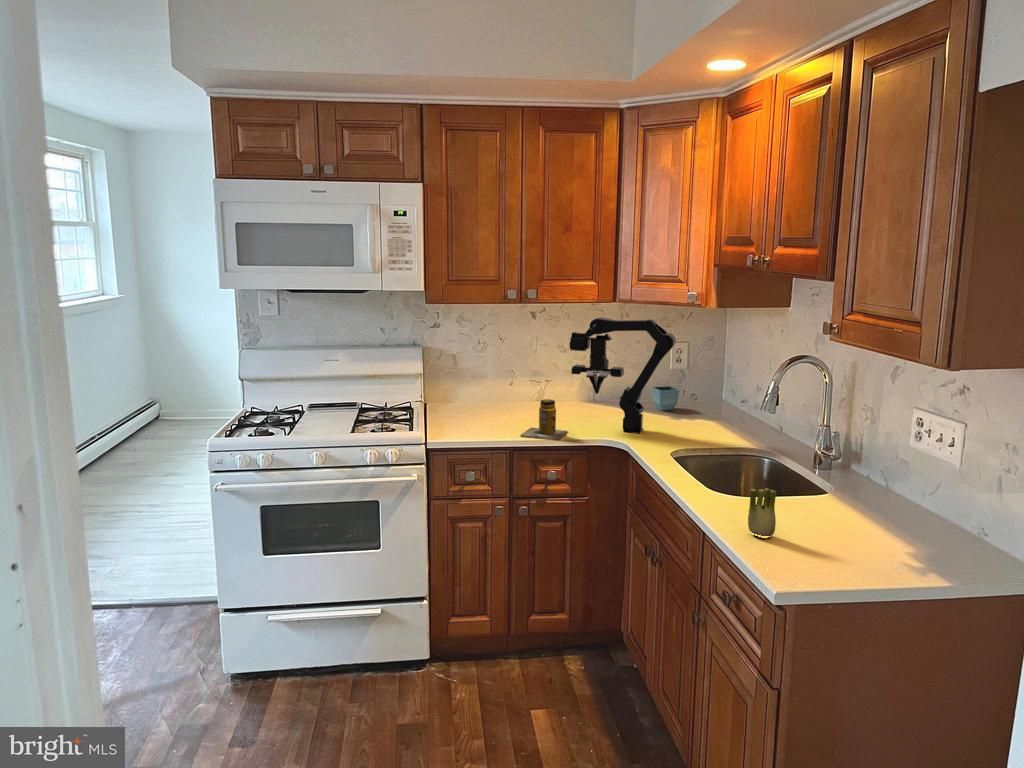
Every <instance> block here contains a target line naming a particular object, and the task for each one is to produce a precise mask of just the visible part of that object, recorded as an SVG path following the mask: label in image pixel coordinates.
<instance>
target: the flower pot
mask: <svg viewBox="0 0 1024 768" xmlns="http://www.w3.org/2000/svg"><path fill="white" fill-rule="evenodd" d="M651 393H652V400H653V403H654V405H655V407H656V409H658V410H660V411H662V410H663V411H673V410H674V409H675V407H677V404H678V401H679V396H680V389H678V388H676V387H674V386H672V385H671V386H669V385H665V386H652V387H651Z"/></svg>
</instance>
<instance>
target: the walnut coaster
mask: <svg viewBox="0 0 1024 768" xmlns="http://www.w3.org/2000/svg"><path fill="white" fill-rule="evenodd" d="M531 431H539V427H530V428H528V429H527V430H526V431H524V432H522V433H521V434H519V435H520V436H519V437H520V438H529V439H530V438H531V439H532V438H533V439H540V440H552V441H559V440H561V439H562V438H563V436H565V435H566V434H568V430H562V429H556V431H555V432H558V433H560V434H555V435H548V436H538V435H535V434H533V433H531Z"/></svg>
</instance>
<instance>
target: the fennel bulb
mask: <svg viewBox="0 0 1024 768" xmlns="http://www.w3.org/2000/svg"><path fill="white" fill-rule="evenodd" d="M756 491H757V490H756V489H755V488H751V489H750V491H749V496H750V497H749V506H748V507H749V508H748V516H747V526H748V530H749V532H750V531H751V532H752V533H754V534H757V535H761V536H771V535H772V536H773V535H774V533H775V531H776V526H777V525H776V523H777V522H776V520H777V519H776V511H775V507H776V506H775V504H776V496H777V491H776V490H773V489H770V488H768V487H767V488H766V487H765V488H764V489H761V488H760V489H758V492H757V493H756ZM756 496H757V497H756ZM772 536H771V537H772Z"/></svg>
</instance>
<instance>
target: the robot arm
mask: <svg viewBox="0 0 1024 768" xmlns="http://www.w3.org/2000/svg"><path fill="white" fill-rule="evenodd" d="M630 331H631V332H642V331H643V332H647V333H648V335H649V336H650V337H651V338H652V339H653V341H655V345H654V347H653V352H652V355H651V356H650V358H649V360H648V361H647V363H646V364H645V365H644V367H643V369H642V370H641V372H640V374H639V376H638V377H637V379H636V380H635V382H634V384H633V385H632V387H630V386H627V387H626V388H625V389H624V390H623V393H622V395H620V397H619V399H620V400H619V407H620V409H621V410H622V411H623V414H624V417H623V418H622V432H623V431H628V432H627V433H632V432H638V433H637V434H641V433H642V432H643V431H644V428H643V427H644V425H643V423H644V422H643V421H644V420H643V419H644V414H643V413H644V412H643V411H644V409H645V407H644V406H643V405H642V403H640V399H641V396H642V392H643V390H644V388H645V387H646V385H647V384H648V383H649V381H650V379H651V378H652V376H653V374H654V373H655V371H656V370H657V367H658V366H659V365H660V363H661V362H662V360H663V359H664V358H665V356H666V355H667V354H669V352H670V351H671V350H672V349H673V348H674V347H675V345H676V343H677V340H676V336H675V335H674V334H673V333H670V332H667V331H666V330H665V329H664V328H663V327H661V326H660V325H659V324H657V322H656V321H655V320H654V319H651V318H650V319H649V318H648V319H627V320H625V319H623V320H622V319H621V320H620V319H619V320H617V319H612V318H608V317H601V316H600V317H596V318H593V319H592V320H591V321H590V323H589V328H588V329H587V330H586V331H585V332H576V331H573V332H571V336H570V340H569V350H570V351H574V352H587V350H588V349H590V355H589V367H586V365H585V364H578V363H577V364H575V365H573V366H572V367H571V370H570V373H571V374H572V375H580V374H582V373H586V374H585V375H586V376H585V377H586V378H588V379H589V381H590V383H591V385H592V387H593V390H594V393H595V394H596V395H598V394H599V393H600V390H601V387H602V384H603V383H604V380H605V379H606V378H608V377H609V376H611V377H613V378H622V377H623V376H624V375H625V369H624V367H622V366H621V367H620V366H613V367H612V368H609V364H610V363H609V362H610V360H609V359H608V358H607V342H608V341H609V342H610V341H612V340H613V338H612V336H610V335H609V333H612V332H630ZM603 334H605V335H603ZM594 335H596V336H595V337H594ZM592 336H593V337H592ZM598 374H599V375H598ZM642 430H643V431H642ZM641 431H642V432H641ZM640 432H641V433H640Z"/></svg>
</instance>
